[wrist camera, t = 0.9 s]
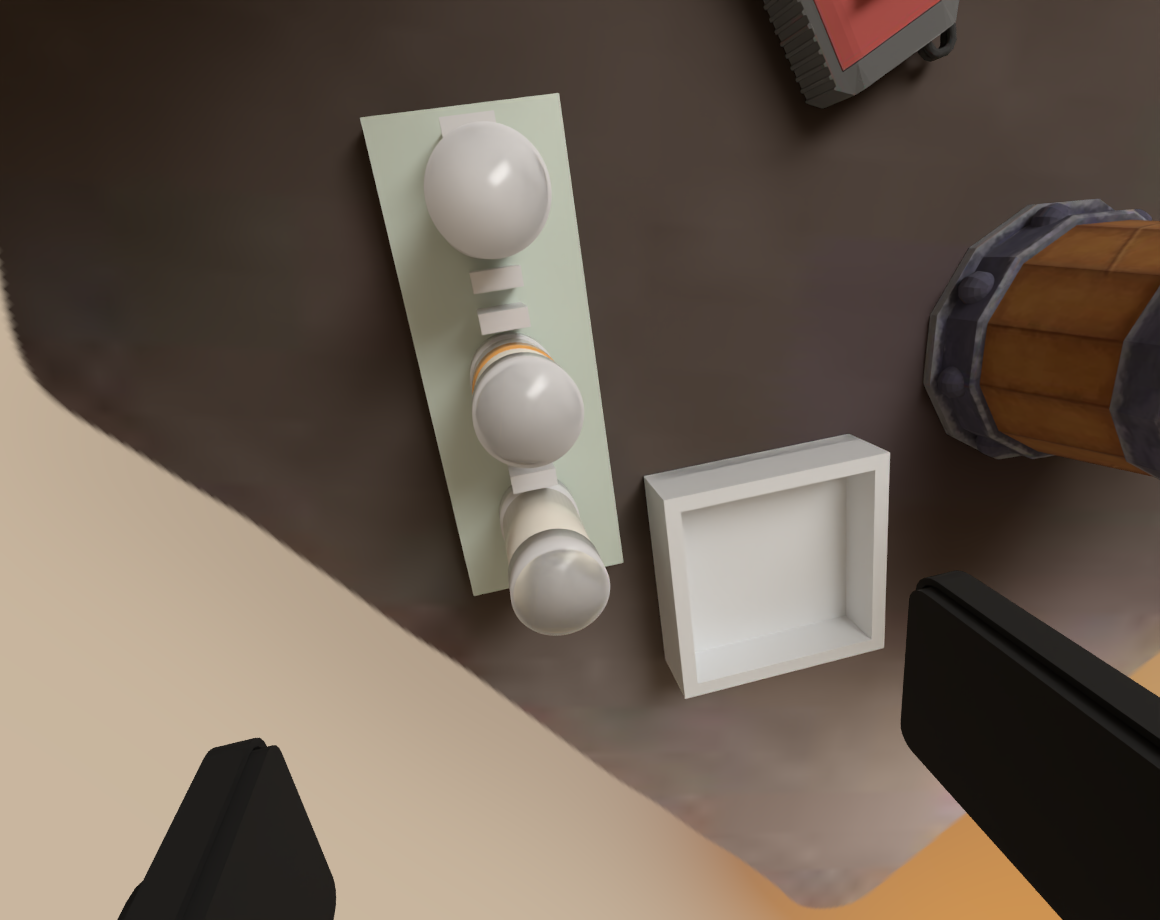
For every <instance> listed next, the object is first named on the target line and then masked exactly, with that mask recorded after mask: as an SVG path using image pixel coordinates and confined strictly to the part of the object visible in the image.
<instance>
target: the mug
mask: <svg viewBox="0 0 1160 920" xmlns="http://www.w3.org/2000/svg"><path fill="white" fill-rule="evenodd" d="M923 384H924V386H925V388H926V391H927V393H928V395H929V397H930V399H931V402H932V404H933V406H934V408H935V410H936V412H937V415H938V417H939V419H940V421H941V423H942V426H943V428H944V430H945V432H946V434H947V435H949V436H951V437H953V438H955V439H957V440H959V441H961V442H963V443H965V444H967V445H969V446H971V447H973V448H975V449H977V450H979V451H980V452H981V453H983V454H985V455H987V456H989V457H993V458H996V459H1004V458H1011V457H1017V456H1025V457H1028V458H1030V459H1037V458H1043V457H1049V456H1056V455H1057V456H1061V457H1066V458H1070V459H1075V460H1080V461H1084V462H1089V463H1093V464H1098V465H1103V466H1107V467H1112V468H1116V469H1121V470H1126V471H1130V472H1135V473H1139V474H1144V475H1148V476H1153V477H1155V478H1157V479H1159V480H1160V221H1152V218H1151V216H1150V215H1149V214H1148V213H1146V212H1145V211H1143V210H1141V209H1131V210H1118V211H1115V210H1114V209H1112V208H1111V207H1110V206H1108V205H1107V204H1106V203H1104V202H1103V201H1101V200H1100V199H1091V200H1079V201H1068V202H1057V203H1046V204H1035V205H1028V206H1026V207H1025V208H1023V209H1022V210H1021V211H1019V212H1018V213H1017V214H1015V215H1014V216H1012V217H1011V218H1010V219H1008V220H1007V221H1006V222H1004V223H1003V224H1001V225H1000V226H999V227H997V228H996V229H995V230H993V231H992V232H990V233H989V234H988V235H986V236H985V237H984V238H982V239H981V240H979V241H978V242H977V243H975V244H974V245H973V246H971V247H970V248H968V250H967V252H966V254H965V255H964V257H963V259H962V261H961V262H960V264H959V266H958V268H957V269H956V271H955V273H954V274H953V276H952V278H951V280H950V281H949V283H948V285H947V287H946V288H945V290H944V292H943V294H942V295H941V297H940V299H939V300H938V302H937V304H936V306H935V307H934V309H933V311H932V313H931V314H930V321H929V331H928V341H927V350H926V360H925V370H924V380H923Z"/></svg>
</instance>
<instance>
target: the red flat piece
mask: <svg viewBox="0 0 1160 920" xmlns="http://www.w3.org/2000/svg"><path fill="white" fill-rule="evenodd" d="M763 1H764V4H765V5H764V9H765V10H767V11H768V13H769V15H770V19H769V21H770V23H773V24H774V27H775V29H776V30H775V31H774V32H775V34H776V35H778V36H779V38H780V40H781V43H780V46H781V47H784V49H785V52H786V55H785V57H786V59H789V61H790V63H791V67H790V68H791V71H793V70H794V72H795V75H796V79H795V80H796V82H799V84H800V86H801V88H802V89H801V90H800V91H801V93H802V94H803V93H804V95H805V97H806V102H805V103H807V104H810V105H813V106H816V107H819V108H822V109H823V108H826V107H828V106H831V105H833V104H835V103H838V102H840V101H843V100H845V99H847V98H850V97H852V96H855V95H856V94H858V93H859V92H861V91H863V90H864V89H866V88H867V87H868V86H870V85H871V84H873V83H874V82H875V81H877V80H878V79H880V78H881V77H882V76H884V75H885V74H886V73H888V72H889V71H890V70H892V69H893V68H895V67H896V66H897V65H899V64H900V63H901V62H903V61H904V60H906V59H907V58H908V57H910V56H911V55H912V54H914V53H915V52H916V51H918V53H919V55H920V56H921V57H922V58H923V59H924V60H926V61H930V62H931V61H934V60H936V59H939V58H941V57H943V56H946V55H948V54H949V53H950V52H951V51H952V49H953V48H954V45H955V42H956V40H957V38H956V23H955V22H956V16H957V10H958V4H959V0H763ZM940 34H941V37H940V47H939V49H937V48H936V47H935V46H934V44H933V43H932V40H933V39H934V38H936V37H937V36H938V35H940Z"/></svg>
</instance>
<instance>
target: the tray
mask: <svg viewBox="0 0 1160 920" xmlns="http://www.w3.org/2000/svg"><path fill="white" fill-rule="evenodd" d="M889 471H890V452H888V451H886V450H884V449H882V448H879V447H877V446H875V445H873V444H870V443H868V442H866V441H864V440H862V439H859V438H857V437H855V436H853V435H851V434H845V435H841V436H836V437H831V438H826V439H821V440H816V441H812V442H807V443H802V444H797V445H792V446H787V447H783V448H778V449H773V450H768V451H763V452H758V453H754V454H749V455H744V456H739V457H734V458H730V459H725V460H720V461H715V462H710V463H705V464H701V465H696V466H691V467H686V468H681V469H676V470H672V471H667V472H662V473H657V474H652V475H647V476H644V484H645V493H646V501H647V510H648V518H649V526H650V535H651V543H652V552H653V560H654V569H655V577H656V586H657V594H658V603H659V611H660V619H661V628H662V636H663V645H664V653H665V660H666V662H667V664H668V666H669V668H670V670H671V672H672V674H673V676H674V678H675V680H676V682H677V684H678V686H679V688H680V690H681V692H682V694H683V696H684V698H685V699H687V698H691V697H695V696H699V695H703V694H706V693H710V692H714V691H718V690H722V689H726V688H730V687H734V686H738V685H742V684H745V683H749V682H753V681H757V680H761V679H765V678H769V677H773V676H777V675H781V674H784V673H788V672H792V671H796V670H800V669H804V668H808V667H812V666H816V665H819V664H823V663H827V662H831V661H835V660H839V659H843V658H847V657H851V656H855V655H858V654H862V653H866V652H870V651H874V650H878V649H882V648H884V638H885V604H886V571H887V537H888V504H889Z"/></svg>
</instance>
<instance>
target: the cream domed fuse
mask: <svg viewBox="0 0 1160 920" xmlns="http://www.w3.org/2000/svg"><path fill="white" fill-rule="evenodd" d="M424 196H425V202H426V205H427V209H428V212H429V214H430V217H431V219H432V221H433V223H434V224H435V226H436V228H437V229H438V231H439V232H440V233H441V235H442V236H443V237H444V238H445V239H446V240H447V241H448V242H449V243H450V245H451V246H452V247H454V248H455V249H456V250H458V251H459V252H461V253H462V254H464V255H467V256H469V257H472V258H478V259H500V258H505V257H509V256H512V255H514V254H517V253H519V252H520V251H522V250H524V249H525V248H526V247H528V246H529V245H530V244H531V243H532V242H533V241H534V240H535V239H536V238H537V237H538V235H539V234H540V233H541V231H542V229H543V228H544V226H545V224H546V221H547V219H548V216H549V212H550V207H551V199H552V190H551V182H550V177H549V173H548V170H547V167H546V165H545V163H544V161H543V158H542V157H541V155H540V154H539V152H538V150H537V149H536V148H535V147H534V145H533V144H532V143H531V142H530V141H529V140H528V139H527V138H526V137H525V136H523V135H522V134H521V133H519V132H518V131H516V130H514V129H512V128H511V127H508V126H506V125H503V124H500V123H496V122H488V121H479V122H472V123H467V124H465V125H462V126H459V127H458V128H456V129H454V130H452V131H451V132H449V133H448V134H447V135H446V136H444V137H443V139H442V140H441V141H440V142H439V143H438V144H437V146H436V147H435V148H434V150H433V152H432V154H431V156H430V158H429V160H428V163H427V166H426V170H425V175H424Z"/></svg>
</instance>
